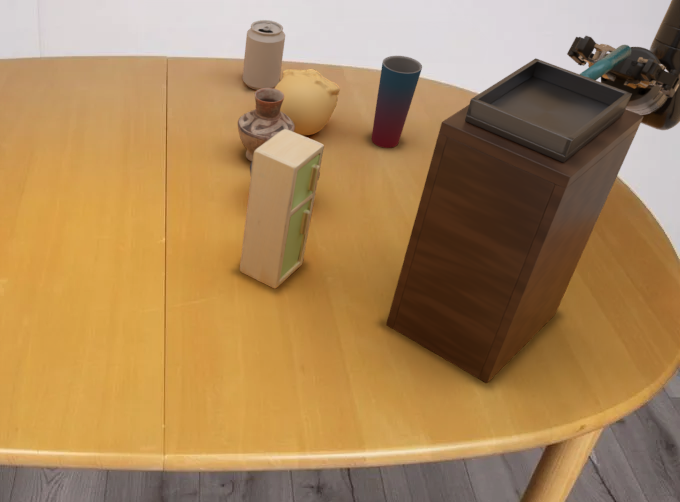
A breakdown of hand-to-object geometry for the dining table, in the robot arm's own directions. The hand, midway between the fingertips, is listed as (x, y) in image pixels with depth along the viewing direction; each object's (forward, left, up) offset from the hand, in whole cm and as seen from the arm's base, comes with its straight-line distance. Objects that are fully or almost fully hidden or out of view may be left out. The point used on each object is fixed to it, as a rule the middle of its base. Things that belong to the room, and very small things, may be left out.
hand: (615, 54), depth 112 cm
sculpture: (+51, -7, -35) cm, 62 cm away
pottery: (+43, +11, -35) cm, 56 cm away
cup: (+37, -15, -35) cm, 53 cm away
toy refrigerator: (+27, +30, -35) cm, 53 cm away
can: (+67, -15, -35) cm, 77 cm away
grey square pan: (0, +11, -2) cm, 11 cm away
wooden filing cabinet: (0, +18, -34) cm, 39 cm away
